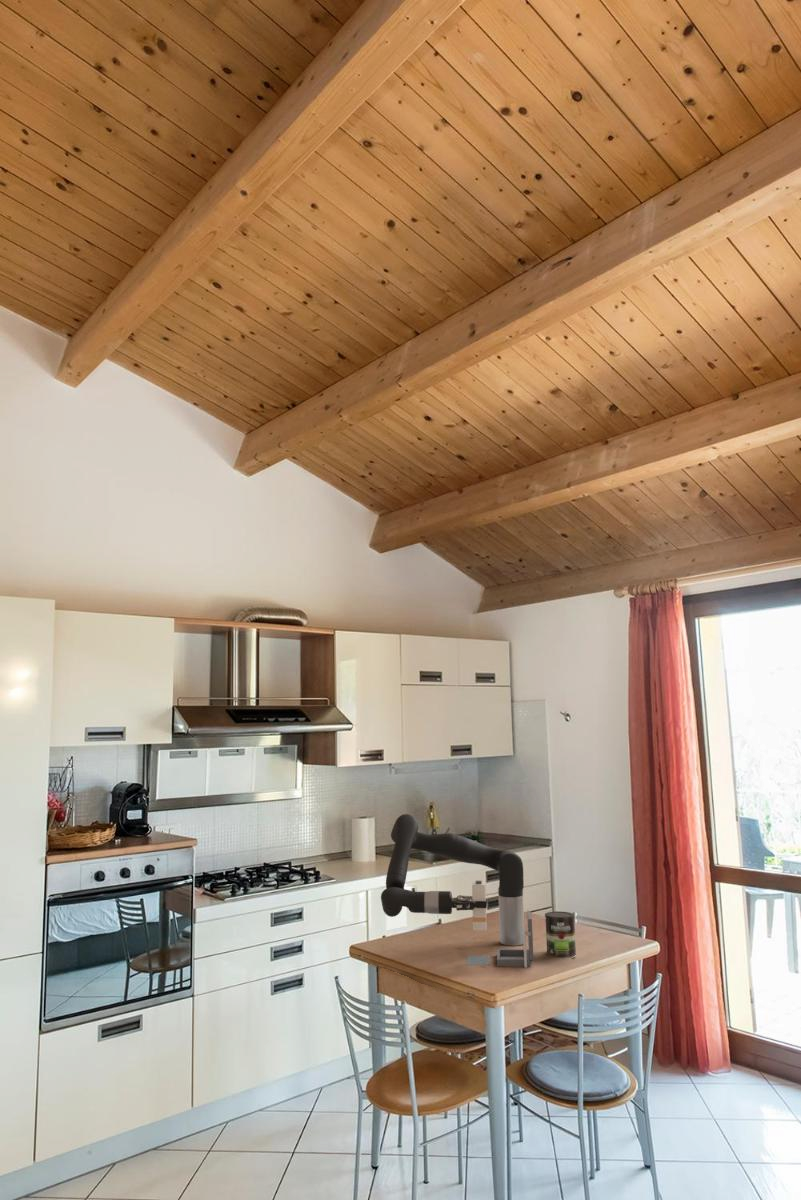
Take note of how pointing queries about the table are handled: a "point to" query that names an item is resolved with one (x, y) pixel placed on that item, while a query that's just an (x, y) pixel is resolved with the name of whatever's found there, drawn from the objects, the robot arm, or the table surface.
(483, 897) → the white bottle
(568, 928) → the coffee can
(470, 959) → the mat
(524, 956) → the grey dispenser stand
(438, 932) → the table surface
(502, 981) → the table surface
